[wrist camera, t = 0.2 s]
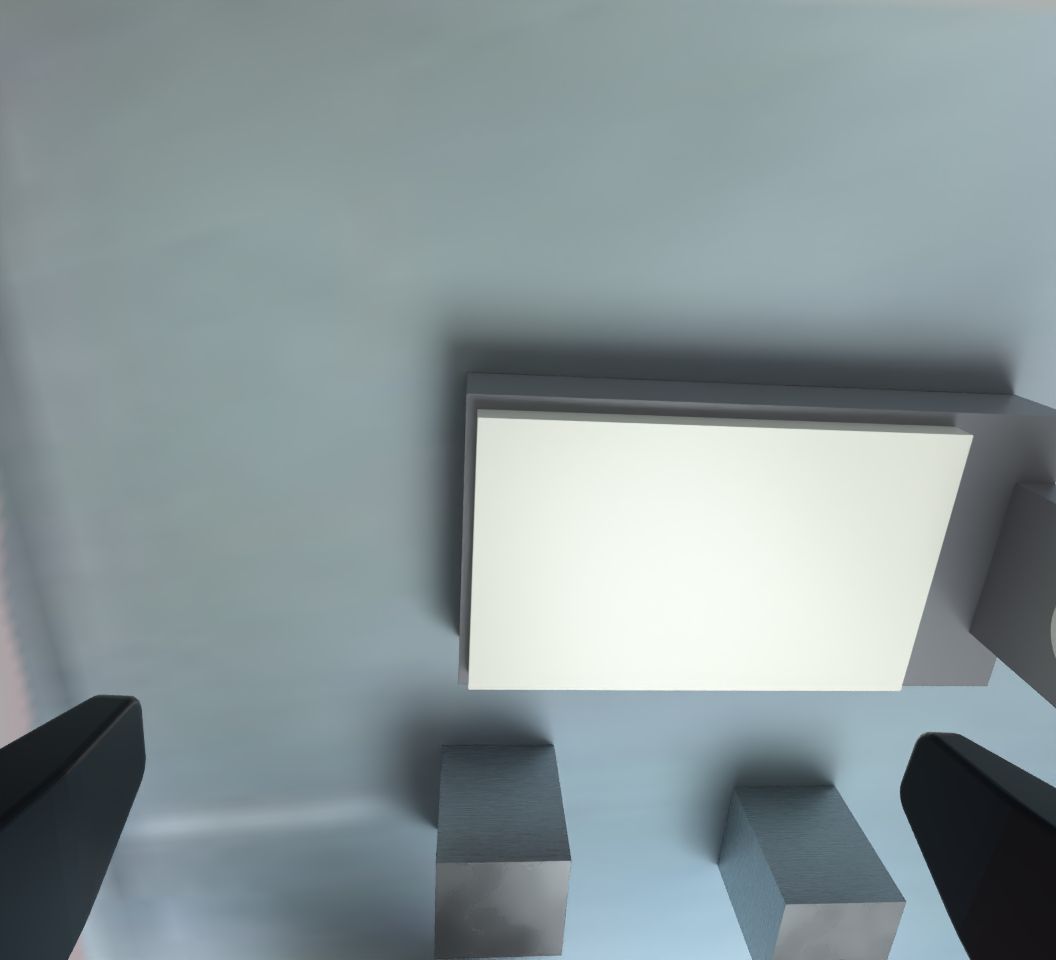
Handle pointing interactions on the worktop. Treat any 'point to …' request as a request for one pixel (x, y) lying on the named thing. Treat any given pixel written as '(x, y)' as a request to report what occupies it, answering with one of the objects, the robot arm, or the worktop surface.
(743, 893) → the block
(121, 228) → the worktop surface
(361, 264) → the worktop surface
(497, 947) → the block
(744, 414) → the scale
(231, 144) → the worktop surface
